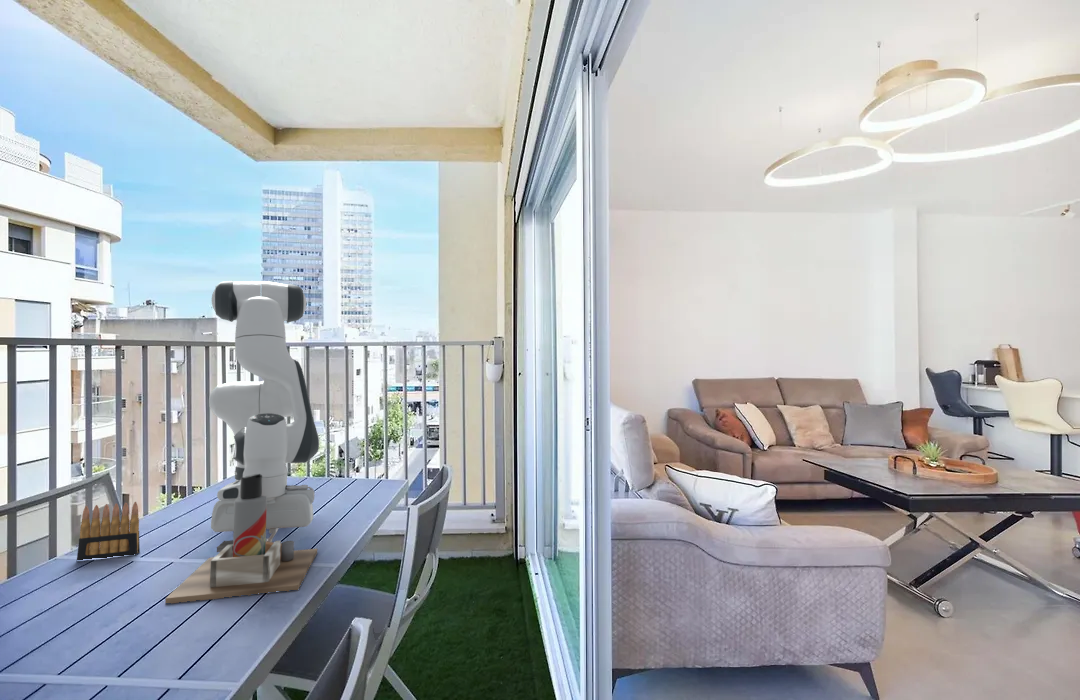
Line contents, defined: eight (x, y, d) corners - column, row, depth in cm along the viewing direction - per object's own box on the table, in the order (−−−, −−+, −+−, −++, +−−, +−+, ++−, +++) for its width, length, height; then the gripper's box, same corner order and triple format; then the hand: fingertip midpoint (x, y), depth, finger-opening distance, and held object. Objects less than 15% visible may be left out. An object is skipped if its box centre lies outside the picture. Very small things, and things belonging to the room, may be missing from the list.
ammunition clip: (139, 552, 113) (141, 500, 114) (136, 555, 111) (138, 502, 112) (80, 559, 109) (82, 505, 109) (76, 562, 107) (78, 507, 108)
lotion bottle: (250, 580, 96) (253, 477, 97) (225, 578, 97) (228, 476, 97) (271, 569, 101) (273, 472, 102) (246, 567, 102) (249, 471, 103)
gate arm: (296, 557, 107) (296, 541, 107) (288, 561, 105) (288, 544, 105) (247, 552, 110) (247, 536, 110) (238, 556, 107) (239, 540, 108)
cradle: (209, 562, 107) (210, 534, 108) (317, 552, 113) (317, 526, 113) (165, 604, 88) (166, 570, 88) (298, 590, 94) (299, 558, 94)
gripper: (317, 481, 116) (315, 539, 116) (220, 484, 111) (218, 546, 111) (312, 487, 110) (310, 549, 110) (208, 492, 105) (206, 557, 105)
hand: (263, 547), depth 110 cm, fingers closed
